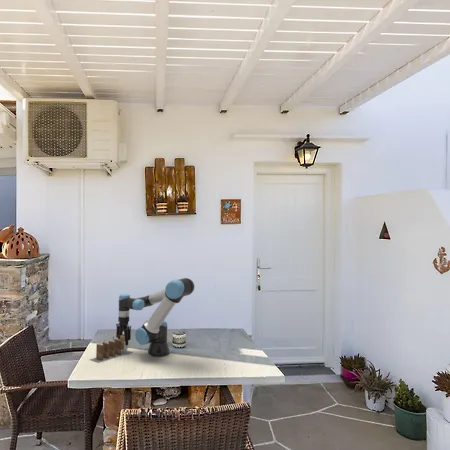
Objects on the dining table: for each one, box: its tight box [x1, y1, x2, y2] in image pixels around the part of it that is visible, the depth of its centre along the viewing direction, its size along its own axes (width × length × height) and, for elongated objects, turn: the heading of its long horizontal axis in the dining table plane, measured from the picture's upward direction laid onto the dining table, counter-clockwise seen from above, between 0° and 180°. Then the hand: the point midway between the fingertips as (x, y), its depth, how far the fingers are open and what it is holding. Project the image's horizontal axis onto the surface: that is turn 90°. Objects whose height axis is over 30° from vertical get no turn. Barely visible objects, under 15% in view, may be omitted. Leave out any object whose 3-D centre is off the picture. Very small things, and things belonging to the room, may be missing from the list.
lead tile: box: [120, 335, 126, 351], centre depth 299 cm, size 2×5×10 cm, turn 54°
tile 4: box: [102, 341, 110, 359], centre depth 287 cm, size 2×5×10 cm, turn 54°
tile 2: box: [113, 338, 121, 355], centre depth 295 cm, size 2×5×10 cm, turn 54°
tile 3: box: [108, 340, 115, 357], centre depth 291 cm, size 2×5×10 cm, turn 54°
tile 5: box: [95, 343, 103, 360], centre depth 283 cm, size 2×5×10 cm, turn 54°
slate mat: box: [89, 349, 134, 364], centre depth 291 cm, size 10×30×1 cm, turn 144°
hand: (123, 348), depth 299 cm, fingers closed on lead tile, 5 cm apart
